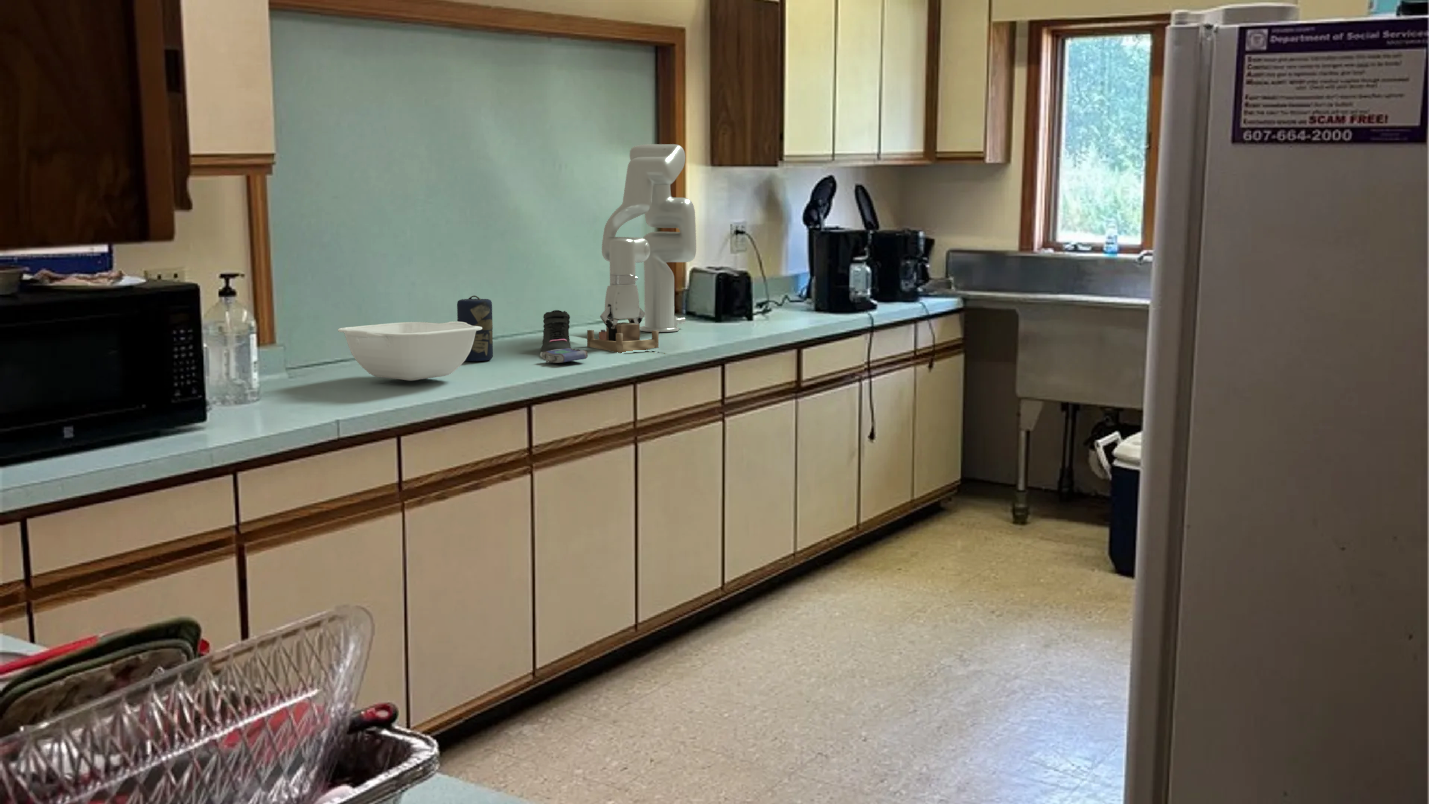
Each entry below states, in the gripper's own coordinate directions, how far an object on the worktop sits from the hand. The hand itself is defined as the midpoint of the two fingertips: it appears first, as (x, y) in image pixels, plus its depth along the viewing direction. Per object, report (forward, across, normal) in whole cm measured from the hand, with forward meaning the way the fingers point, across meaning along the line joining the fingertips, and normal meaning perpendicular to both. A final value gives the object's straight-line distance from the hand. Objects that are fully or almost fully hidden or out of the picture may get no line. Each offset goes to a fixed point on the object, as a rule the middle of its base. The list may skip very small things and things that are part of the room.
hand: (623, 340), depth 405 cm
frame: (+3, 0, 0) cm, 3 cm away
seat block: (+1, 0, 0) cm, 1 cm away
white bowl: (+3, +79, +14) cm, 80 cm away
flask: (+4, +28, +13) cm, 31 cm away
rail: (+3, -7, -7) cm, 10 cm away
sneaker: (+3, +23, -2) cm, 23 cm away
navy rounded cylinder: (+3, +48, -6) cm, 48 cm away
